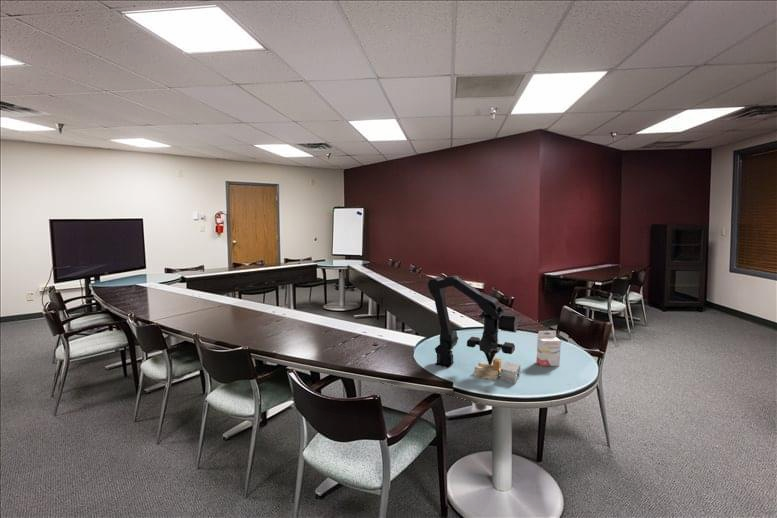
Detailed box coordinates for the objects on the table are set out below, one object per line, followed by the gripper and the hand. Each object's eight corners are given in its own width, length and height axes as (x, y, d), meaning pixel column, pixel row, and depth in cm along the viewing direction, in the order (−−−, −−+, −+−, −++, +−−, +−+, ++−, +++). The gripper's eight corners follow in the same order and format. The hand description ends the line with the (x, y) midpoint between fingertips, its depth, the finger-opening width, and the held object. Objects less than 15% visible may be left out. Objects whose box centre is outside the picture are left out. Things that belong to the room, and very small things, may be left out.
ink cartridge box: (540, 366, 166) (542, 334, 164) (536, 362, 171) (537, 330, 168) (560, 366, 166) (561, 333, 164) (554, 361, 171) (556, 329, 169)
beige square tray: (473, 375, 158) (473, 368, 158) (480, 366, 167) (480, 360, 166) (495, 380, 153) (496, 373, 153) (502, 371, 162) (502, 364, 161)
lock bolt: (492, 373, 157) (493, 360, 157) (494, 370, 160) (495, 358, 159) (512, 377, 153) (512, 364, 152) (514, 374, 156) (514, 361, 155)
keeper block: (500, 380, 154) (500, 368, 153) (505, 372, 160) (505, 361, 160) (515, 383, 150) (515, 371, 150) (520, 375, 157) (520, 364, 156)
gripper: (462, 330, 155) (462, 367, 157) (508, 338, 145) (507, 376, 147) (471, 323, 164) (471, 357, 167) (515, 329, 155) (514, 366, 157)
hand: (490, 364), depth 159 cm, fingers closed
